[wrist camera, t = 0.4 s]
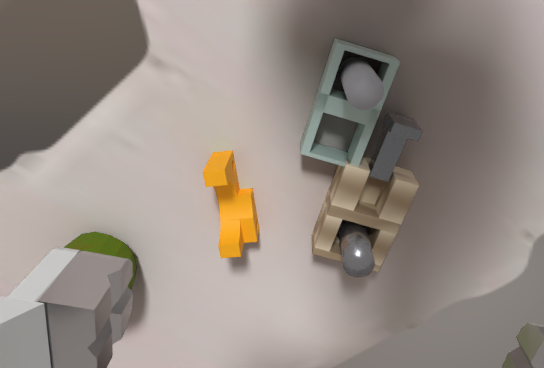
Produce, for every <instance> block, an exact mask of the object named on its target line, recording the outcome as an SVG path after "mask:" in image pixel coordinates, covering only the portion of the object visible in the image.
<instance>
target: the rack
mask: <svg viewBox="0 0 544 368" xmlns="http://www.w3.org/2000/svg"><path fill="white" fill-rule="evenodd" d="M344 50H346V51H349V52H352V53H356V54H359V55H362V56H365V57H369V58H372V59H375V60H379V61H382V63H381V66H380V68H379V71H378V73H377V74H376V73H375V72H374V70H373V69H372V68H371V66H370V65H369V64H368V62H367V61H366V60H365V59H363V58H360V57H352V58H349V59H347V60H346V61H345V62H344V63H343V64H342V65H341V68H340V71H339V76H340V80H341V83H342V86H343V88H344V91H345V92H341V91H338V90H335V89H331V88H332V85H333V82H334V79H335V76H336V74H337V71H338V68H339V65H340V62H341V59H342V56H343V53H344ZM399 64H400V61H399V60H398V59H396V58H395V57H394V56H392V55H389V54H385V53H382V52H379V51H376V50H372V49H369V48H366V47H363V46H359V45H356V44H353V43H349V42H346V41H343V40H340V39H336V38H335V39H334V42H333V45H332V48H331V51H330V54H329V57H328V60H327V63H326V66H325V69H324V72H323V75H322V78H321V81H320V84H319V87H318V91H317V94H316V97H315V100H314V103H313V106H312V109H311V112H310V115H309V118H308V121H307V124H306V127H305V130H304V133H303V136H302V139H301V142H300V154H302V155H306V156H309V157H313V158H316V159H319V160H323V161H326V162H330V163H333V164H337V165H340V166H344V167H345V165H346V160H345V159H349V160H347V161H350V164H351V165H355V166H359V164H360V161H361V159H362V156H363V154H364V151H365V149H366V146H367V144H368V141H369V139H370V136H371V134H372V131H373V129H374V126H375V124H376V121H377V119H378V116H379V114H380V111H381V109H382V107H383V104H384V102H385V99H386V97H387V94H388V92H389V89H390V87H391V84H392V82H393V79H394V77H395V74H396V72H397V69H398V67H399ZM323 113H327V114H330V115H334V116H337V117H340V118H344V119H347V120H351V121H354V122H357V123H358V126H357V128H356V131H355V133H354V136H353V139H352V141H351V144H350V147H349V149H348V152H345V151H342V150H338V149H335V148H332V147H328V146H325V145H321V144H318V143H314V142H313V141H314V138H315V135H316V132H317V129H318V126H319V123H320V120H321V117H322V115H323ZM345 157H346V158H345Z"/></svg>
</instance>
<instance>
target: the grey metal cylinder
mask: <svg viewBox="0 0 544 368" xmlns="http://www.w3.org/2000/svg"><path fill="white" fill-rule="evenodd" d="M339 235H340V243H341V251H342V258H343V266H344V269H345V271H346V272H347V273H348V274H349V275H351V276H354V277H363V276H366V275H368V274H370V273H371V272H372V271H373V269H374V267H375V261H374V257H373V253H372V248H371V244H370V240H369V236H368V232H367V228H366V226H365V225H361V224H357V223H354V222H350V221H347V220H342V222H341V224H340V227H339Z"/></svg>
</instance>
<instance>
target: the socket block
mask: <svg viewBox="0 0 544 368" xmlns="http://www.w3.org/2000/svg"><path fill="white" fill-rule="evenodd" d="M345 158H346V157H345ZM345 160H346V165H345V167H344V166H340V165H338V167H337V170H336V172H335V175H334V178H333V180H332V183H331V186H330V188H329V191H328V193H327V196H326V199H325V201H324V204H323V207H322V209H321V212H320V215H319V217H318V220H317V223H316V225H315V228H314V230H313V233H312V254H315V255H319V256H322V257H326V258H329V259H333V260H337V261H340V262H343V258H342V251H341V243H340V236H336V234H337V232H338V229H339V227H340V224H341V222H342V220H347V221H350V222H354V223H357V224H361V225H365V226H368V227H369V229H368V231H367V232H368V236H369V240H370V244H371V248H372V253H373V257H374V261H375V267H374V269H373V271H376V272H379V269H380V267H381V265H382V263H383V261H384V259H385V257H386V255H387V253H388V251H389V249H390V246H391V244H392V242H393V240H394V238H395V236H396V234H397V232H398V230H399V228H400V226H401V224H402V221H403V219H404V217H405V215H406V213H407V211H408V209H409V207H410V205H411V203H412V201H413V199H414V196H415V194H416V192H417V190H418V188H419V184H418V182H417V180H416V178H415V177H414V175H413V173H412V171H411V170H407V169H404V168H400V167H397V166H395V168H394V170H393V172H392V175H391V177H390V179H389V181H388V182H387V181H383V180H380V179H376V178H373V177H369V173H370V169H369V166H368V165H369V163H370V161H371V159H369V158H366V157H362V159H361V161H360V164H359V166H355V165H351V164H350V161H347V160H349V159H345Z"/></svg>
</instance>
